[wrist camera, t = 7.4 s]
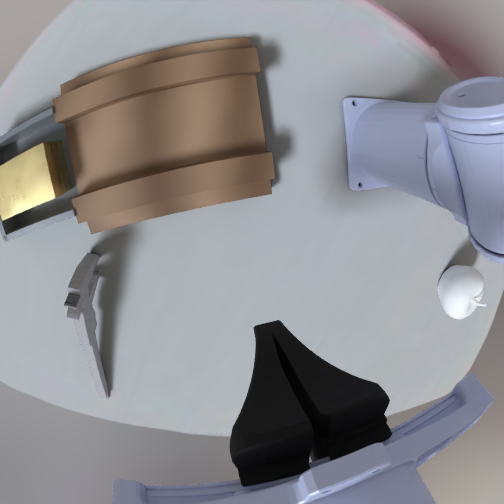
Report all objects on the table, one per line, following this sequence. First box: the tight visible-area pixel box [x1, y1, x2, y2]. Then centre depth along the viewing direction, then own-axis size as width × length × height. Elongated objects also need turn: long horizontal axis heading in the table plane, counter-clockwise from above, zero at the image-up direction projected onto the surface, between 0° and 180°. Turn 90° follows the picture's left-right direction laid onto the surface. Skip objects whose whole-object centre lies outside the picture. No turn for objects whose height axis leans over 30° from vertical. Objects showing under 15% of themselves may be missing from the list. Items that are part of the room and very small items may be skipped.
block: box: [0, 140, 73, 221], centre depth 14 cm, size 6×4×3 cm, turn 98°
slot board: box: [53, 37, 275, 234], centre depth 16 cm, size 14×12×3 cm
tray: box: [0, 107, 79, 242], centre depth 15 cm, size 8×8×3 cm
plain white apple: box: [437, 265, 488, 319], centre depth 26 cm, size 7×7×8 cm
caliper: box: [64, 253, 109, 399], centre depth 21 cm, size 20×1×6 cm, turn 164°
